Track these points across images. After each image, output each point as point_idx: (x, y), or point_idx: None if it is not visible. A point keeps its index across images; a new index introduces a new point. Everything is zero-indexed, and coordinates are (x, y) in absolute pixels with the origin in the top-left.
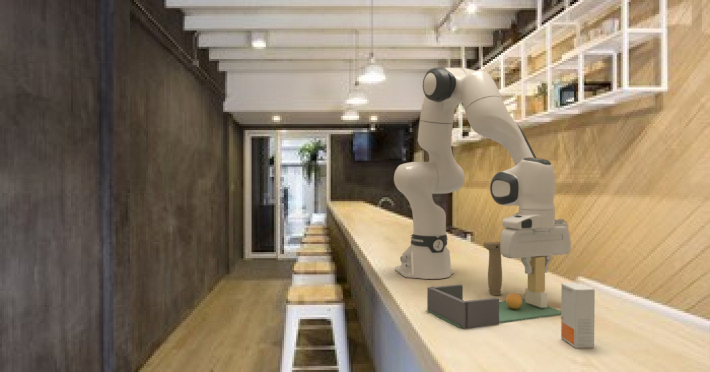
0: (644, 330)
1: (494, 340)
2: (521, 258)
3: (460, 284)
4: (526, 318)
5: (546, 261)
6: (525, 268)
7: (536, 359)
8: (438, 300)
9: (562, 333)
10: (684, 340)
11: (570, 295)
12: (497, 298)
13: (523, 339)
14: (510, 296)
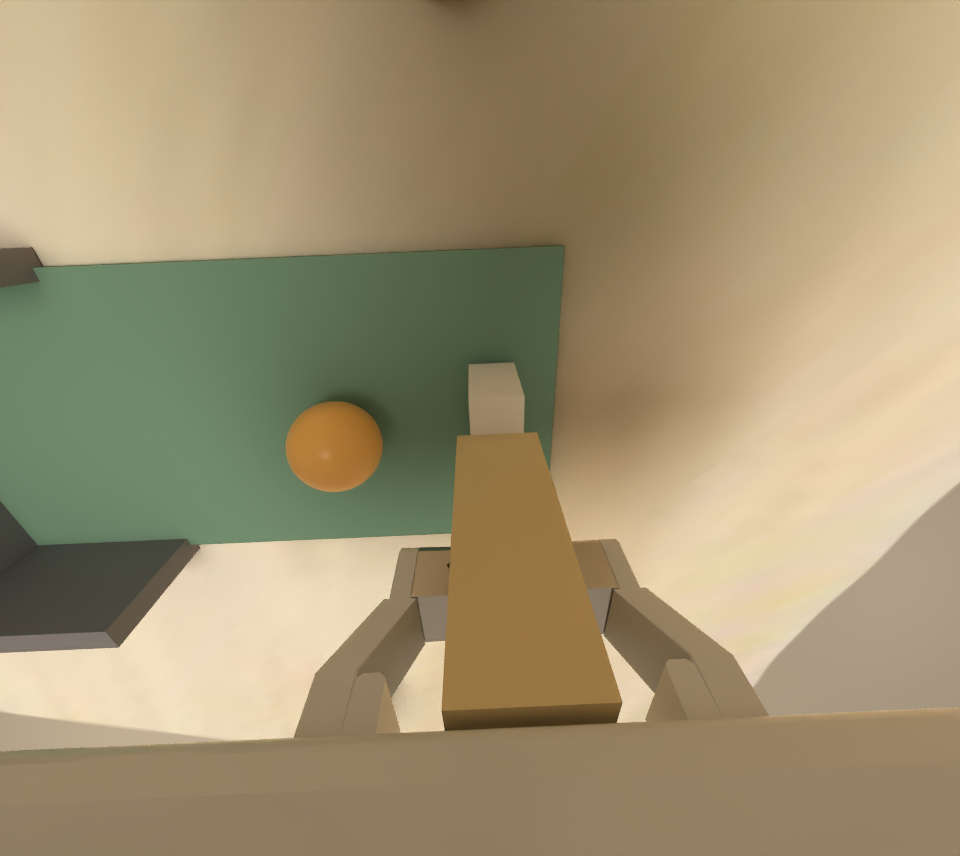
0: (614, 671)
1: (139, 641)
2: (308, 705)
3: None
4: (336, 536)
5: (650, 669)
6: (394, 588)
7: (212, 722)
8: None
9: None
10: (621, 718)
11: None
12: (109, 643)
13: (232, 651)
14: (294, 470)
